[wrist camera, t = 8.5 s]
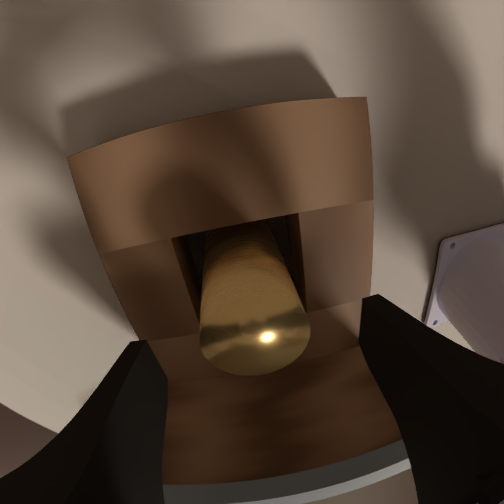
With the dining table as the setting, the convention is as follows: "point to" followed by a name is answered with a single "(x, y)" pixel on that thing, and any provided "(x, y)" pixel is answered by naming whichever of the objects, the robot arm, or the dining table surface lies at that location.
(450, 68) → the dining table surface
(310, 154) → the socket block
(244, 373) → the peg
